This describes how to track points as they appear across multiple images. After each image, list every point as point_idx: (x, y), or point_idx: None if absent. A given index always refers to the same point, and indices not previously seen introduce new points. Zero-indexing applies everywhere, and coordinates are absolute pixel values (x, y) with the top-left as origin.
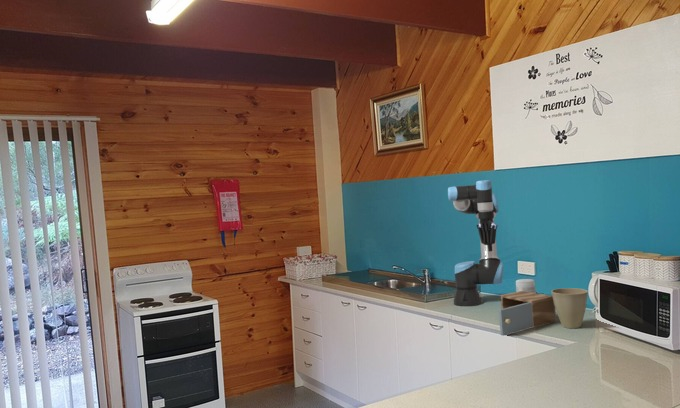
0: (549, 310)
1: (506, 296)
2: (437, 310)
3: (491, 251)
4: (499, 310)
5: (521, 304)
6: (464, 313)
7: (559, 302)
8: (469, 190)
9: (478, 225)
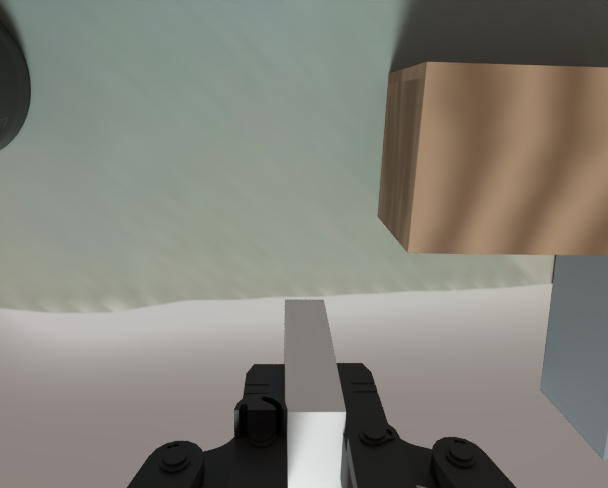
0: None
1: (455, 252)
2: (9, 299)
3: (331, 347)
4: (604, 458)
5: None
6: (155, 252)
7: None
8: None
9: None
